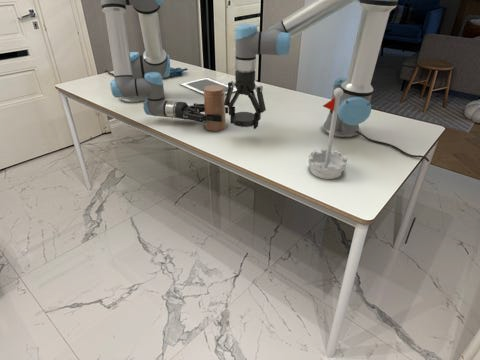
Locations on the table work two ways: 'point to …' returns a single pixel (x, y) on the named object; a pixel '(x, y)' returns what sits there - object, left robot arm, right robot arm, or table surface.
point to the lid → (243, 119)
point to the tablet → (202, 83)
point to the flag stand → (329, 148)
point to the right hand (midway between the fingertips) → (244, 124)
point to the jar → (215, 106)
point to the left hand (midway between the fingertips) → (224, 114)
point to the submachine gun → (176, 71)
